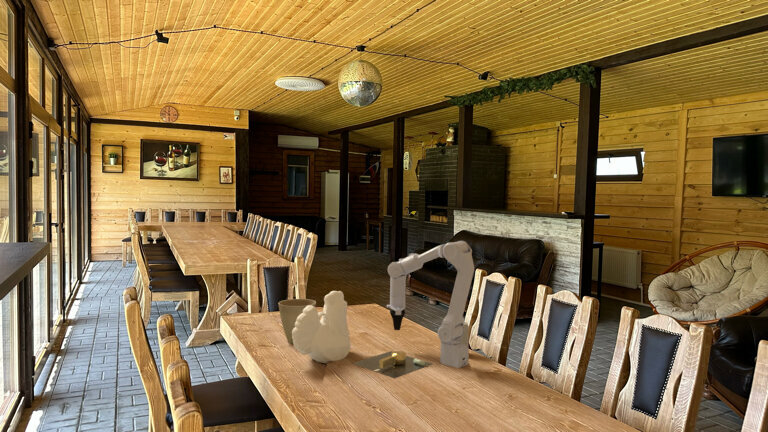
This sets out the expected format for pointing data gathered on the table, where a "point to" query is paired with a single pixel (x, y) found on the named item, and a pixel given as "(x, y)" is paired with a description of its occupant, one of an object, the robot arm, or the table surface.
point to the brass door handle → (393, 359)
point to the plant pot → (292, 314)
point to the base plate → (393, 369)
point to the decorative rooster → (323, 330)
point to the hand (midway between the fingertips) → (397, 329)
